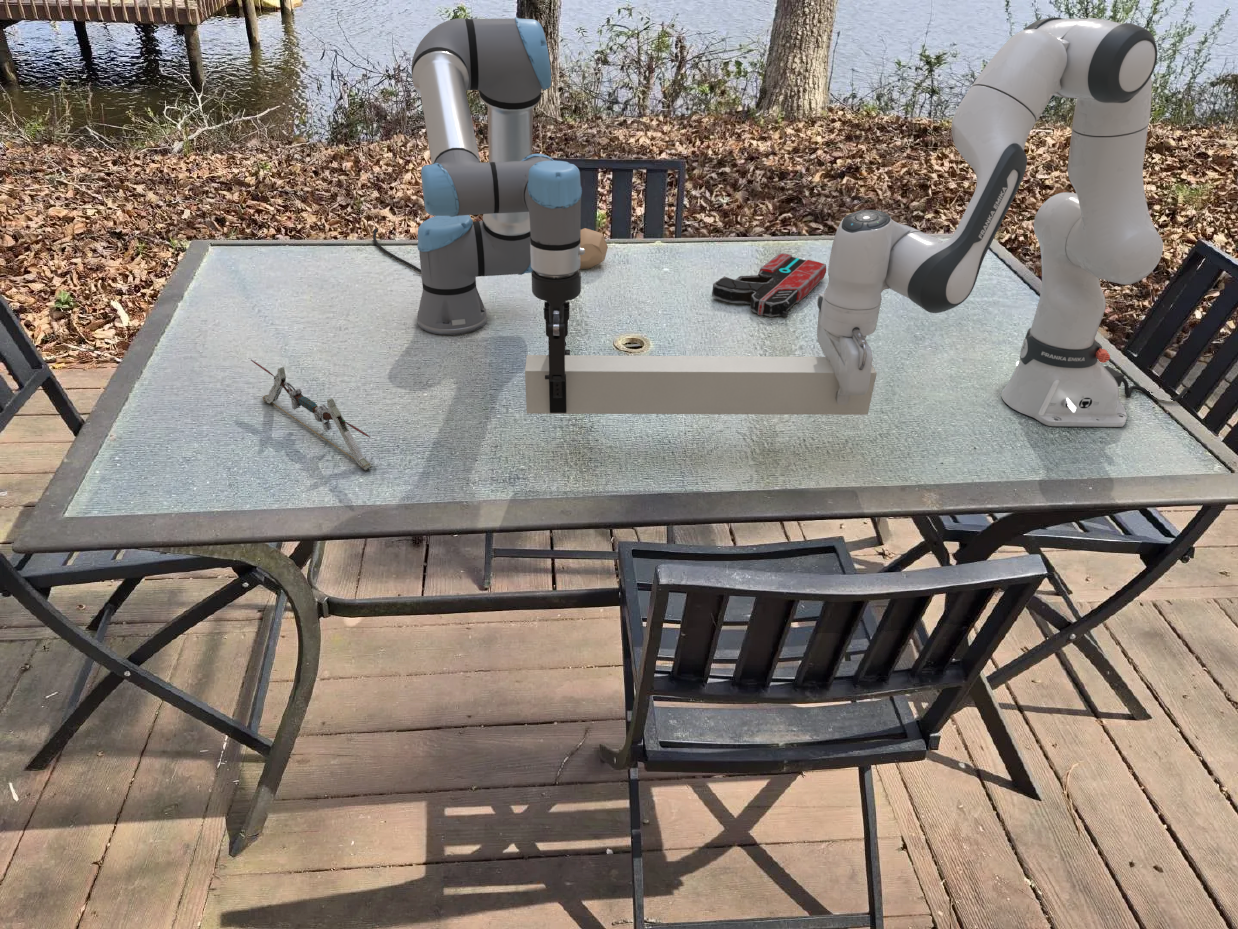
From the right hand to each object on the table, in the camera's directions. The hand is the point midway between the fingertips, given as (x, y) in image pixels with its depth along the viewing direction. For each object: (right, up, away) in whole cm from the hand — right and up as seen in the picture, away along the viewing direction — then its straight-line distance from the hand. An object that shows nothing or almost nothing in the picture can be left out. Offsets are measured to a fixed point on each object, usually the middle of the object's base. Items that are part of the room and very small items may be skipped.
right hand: (836, 392), depth 147 cm
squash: (-49, +40, +81) cm, 103 cm away
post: (-23, -2, 0) cm, 23 cm away
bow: (-91, -7, +10) cm, 92 cm away
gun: (+1, +31, +69) cm, 76 cm away
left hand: (-46, -2, -1) cm, 47 cm away
